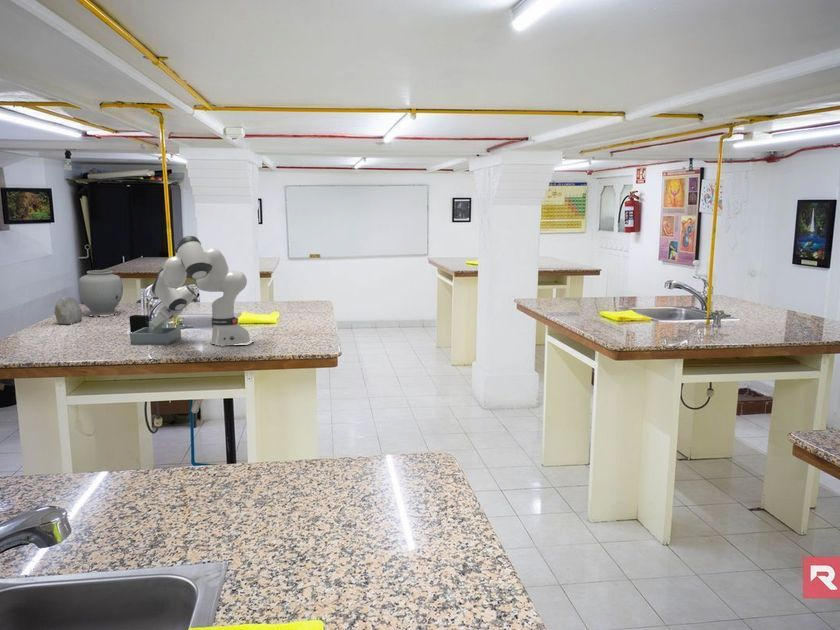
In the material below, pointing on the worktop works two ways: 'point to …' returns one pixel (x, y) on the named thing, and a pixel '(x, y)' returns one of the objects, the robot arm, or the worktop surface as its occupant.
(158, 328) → the pale green block
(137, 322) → the electronic device
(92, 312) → the grey ceramic vase
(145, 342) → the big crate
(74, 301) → the decorative stone
